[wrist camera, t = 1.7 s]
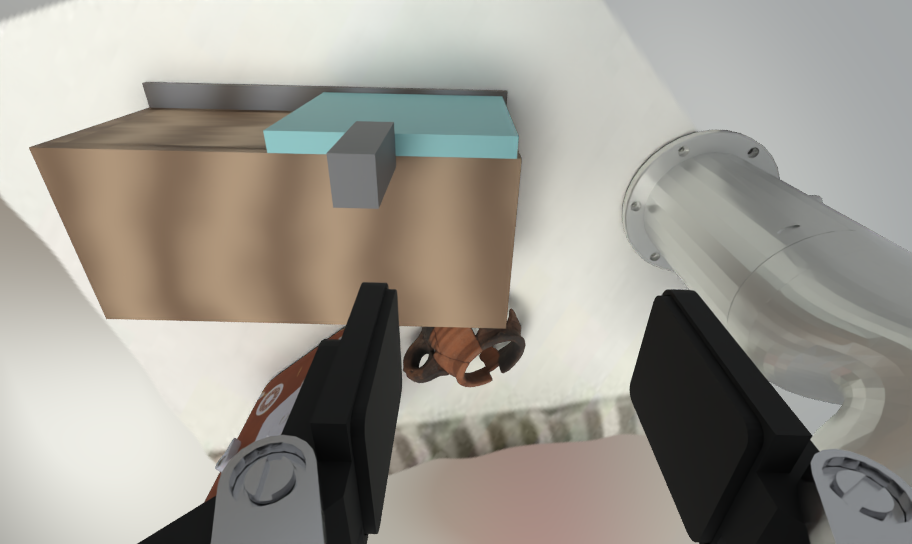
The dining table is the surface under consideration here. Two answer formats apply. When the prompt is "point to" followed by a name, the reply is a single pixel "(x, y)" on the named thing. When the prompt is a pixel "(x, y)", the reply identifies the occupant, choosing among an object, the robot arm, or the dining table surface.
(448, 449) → the dining table surface
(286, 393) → the cine camera
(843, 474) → the robot arm
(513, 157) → the door
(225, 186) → the cabinet
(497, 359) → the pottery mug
